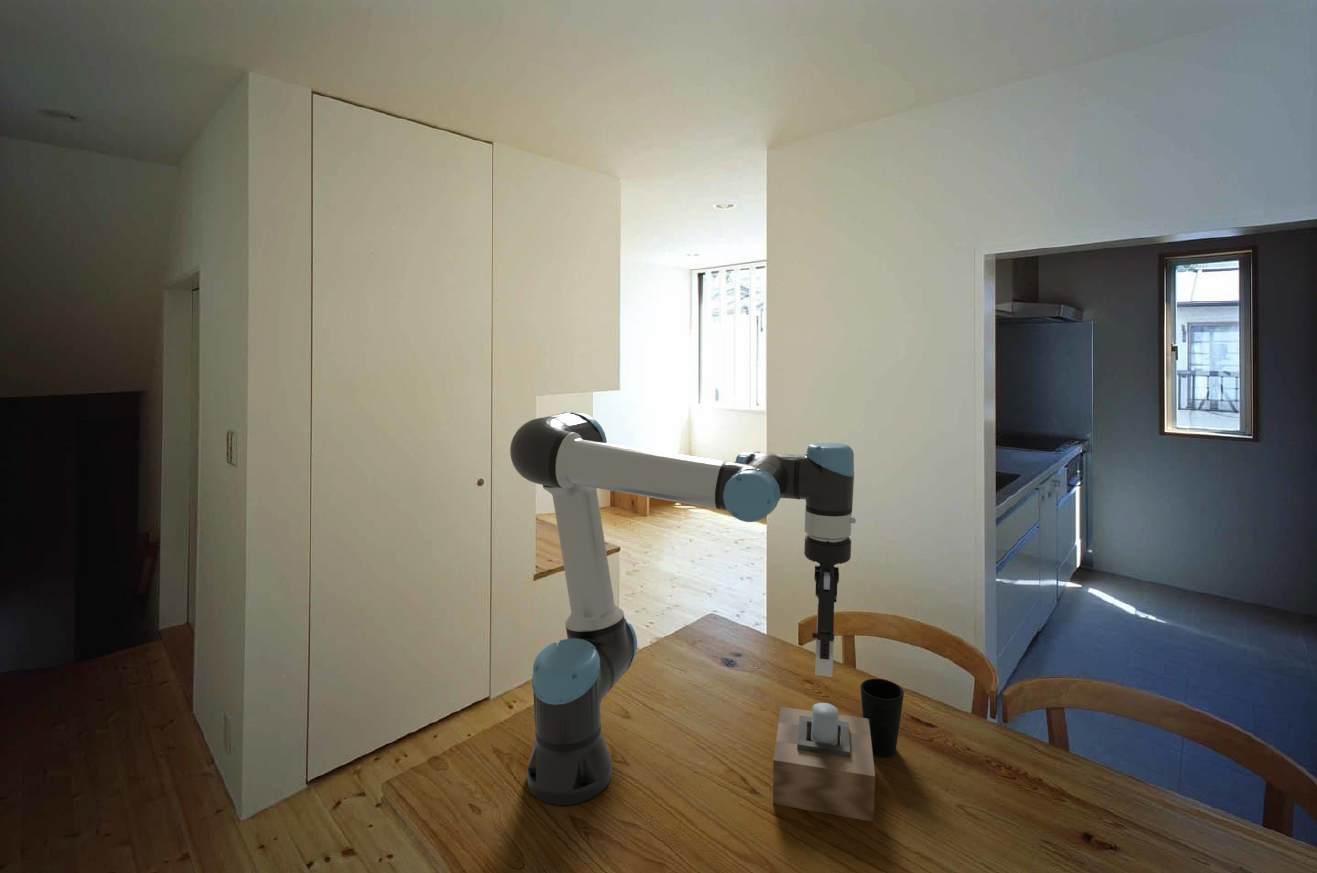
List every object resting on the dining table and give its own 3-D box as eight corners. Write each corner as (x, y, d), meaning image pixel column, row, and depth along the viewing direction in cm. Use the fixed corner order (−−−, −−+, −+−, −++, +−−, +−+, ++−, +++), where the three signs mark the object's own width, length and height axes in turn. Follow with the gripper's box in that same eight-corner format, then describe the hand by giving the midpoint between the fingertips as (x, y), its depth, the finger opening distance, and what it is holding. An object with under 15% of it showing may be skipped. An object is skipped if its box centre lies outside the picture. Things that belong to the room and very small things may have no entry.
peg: (809, 779, 106) (811, 715, 104) (810, 762, 110) (812, 701, 108) (836, 783, 105) (838, 720, 103) (836, 766, 109) (838, 704, 107)
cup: (905, 763, 112) (907, 701, 110) (862, 759, 113) (864, 698, 112) (897, 737, 119) (898, 679, 118) (856, 734, 121) (857, 677, 119)
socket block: (773, 804, 102) (773, 754, 101) (780, 745, 117) (780, 701, 116) (873, 822, 98) (875, 770, 97) (867, 758, 113) (868, 713, 112)
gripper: (854, 561, 89) (849, 697, 92) (848, 517, 113) (844, 626, 116) (801, 557, 91) (798, 690, 94) (807, 515, 115) (804, 621, 118)
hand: (823, 655), depth 105 cm, fingers open, 13 cm apart
